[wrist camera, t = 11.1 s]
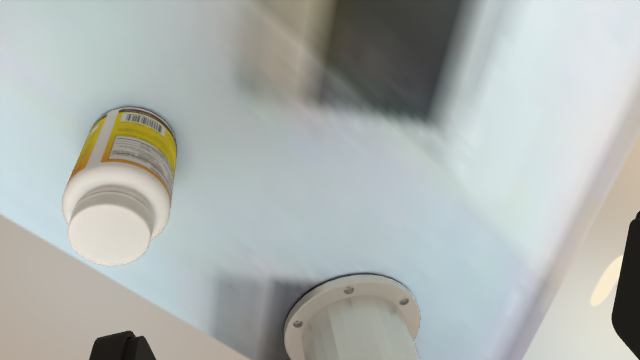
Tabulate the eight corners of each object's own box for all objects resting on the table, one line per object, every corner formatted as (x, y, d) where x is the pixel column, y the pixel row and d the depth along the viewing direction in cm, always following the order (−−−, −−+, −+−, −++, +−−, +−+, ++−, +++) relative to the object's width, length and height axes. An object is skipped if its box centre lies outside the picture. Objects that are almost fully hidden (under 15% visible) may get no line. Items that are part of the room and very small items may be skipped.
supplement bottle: (109, 185, 36) (76, 288, 27) (76, 113, 33) (27, 206, 24) (188, 167, 36) (180, 264, 28) (163, 95, 33) (144, 179, 24)
